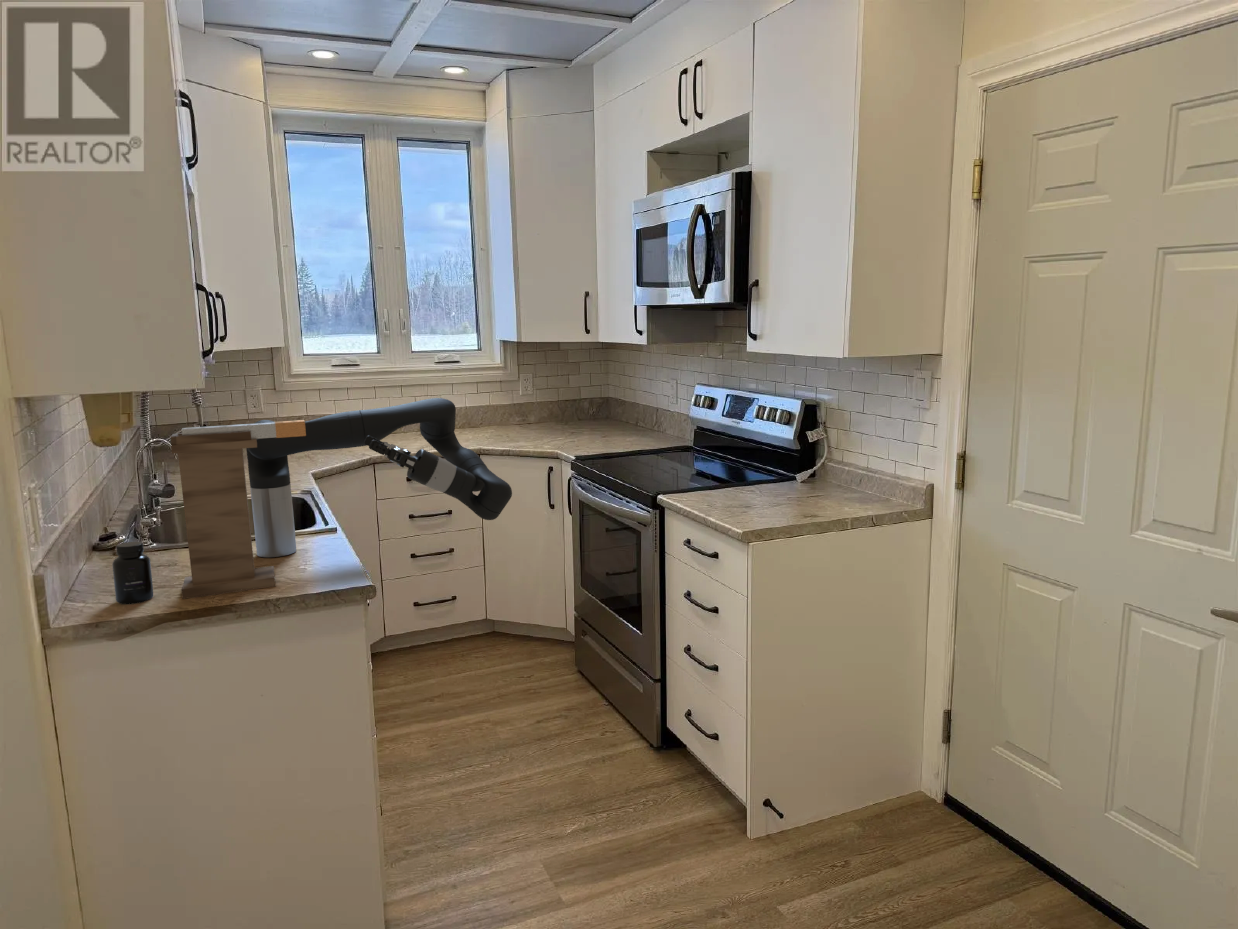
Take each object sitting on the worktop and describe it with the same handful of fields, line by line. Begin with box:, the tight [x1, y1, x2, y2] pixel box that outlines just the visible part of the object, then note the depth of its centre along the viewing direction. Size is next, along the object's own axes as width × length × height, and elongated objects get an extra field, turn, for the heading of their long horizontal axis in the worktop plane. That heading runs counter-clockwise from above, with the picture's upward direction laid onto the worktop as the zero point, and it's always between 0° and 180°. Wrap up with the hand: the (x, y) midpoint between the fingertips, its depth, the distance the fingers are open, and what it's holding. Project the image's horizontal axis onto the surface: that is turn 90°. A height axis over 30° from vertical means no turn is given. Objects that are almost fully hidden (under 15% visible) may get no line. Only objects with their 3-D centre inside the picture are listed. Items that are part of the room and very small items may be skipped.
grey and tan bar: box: [181, 419, 306, 439], centre depth 178 cm, size 3×24×3 cm, turn 114°
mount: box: [170, 431, 276, 600], centre depth 178 cm, size 10×18×34 cm, turn 114°
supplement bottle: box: [111, 541, 154, 605], centre depth 172 cm, size 7×7×12 cm
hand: (367, 441), depth 188 cm, fingers open, 8 cm apart
